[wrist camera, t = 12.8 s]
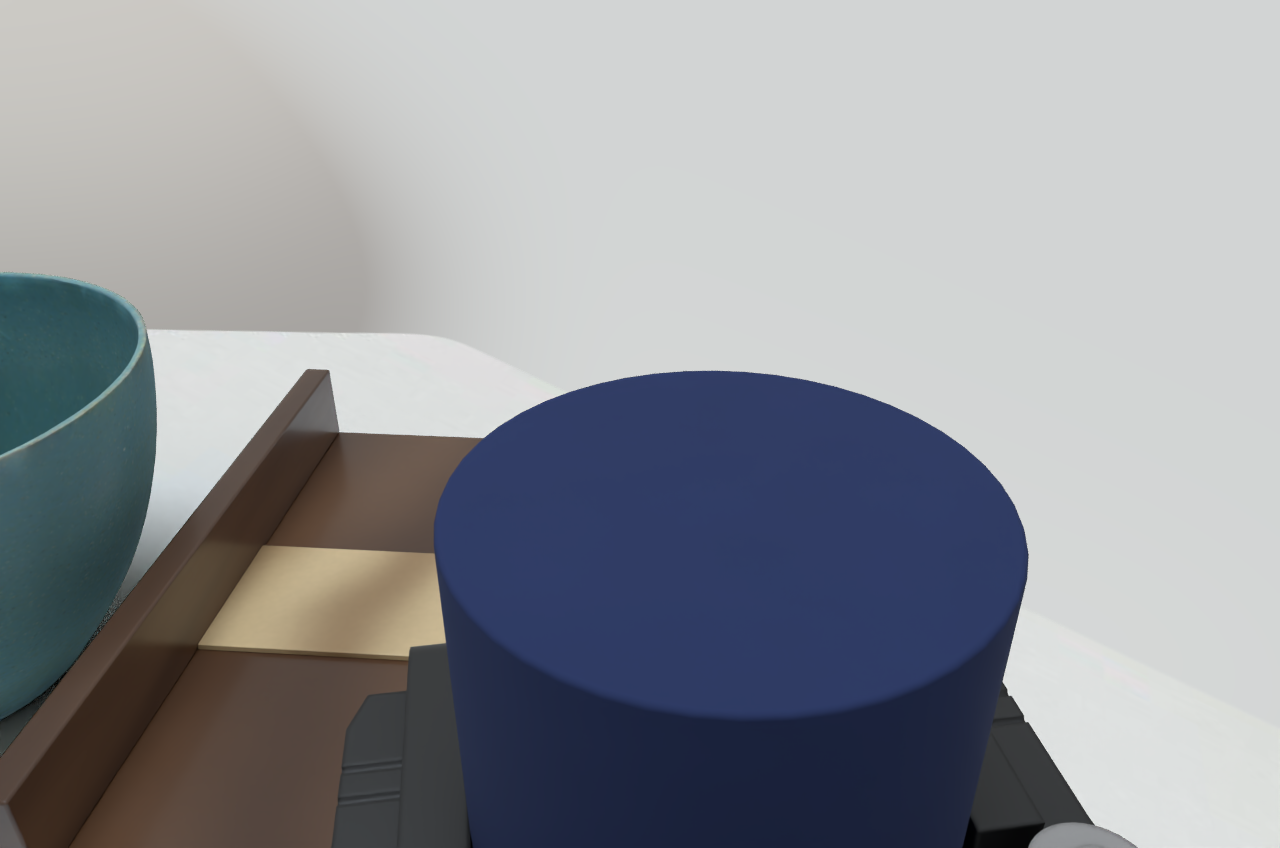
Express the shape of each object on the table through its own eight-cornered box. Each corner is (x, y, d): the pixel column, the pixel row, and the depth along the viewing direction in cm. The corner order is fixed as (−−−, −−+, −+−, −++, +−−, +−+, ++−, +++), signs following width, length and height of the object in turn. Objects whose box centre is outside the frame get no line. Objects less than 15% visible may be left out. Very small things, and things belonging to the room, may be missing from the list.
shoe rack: (641, 539, 45) (642, 380, 41) (581, 1045, 26) (572, 840, 22) (334, 525, 46) (306, 368, 42) (60, 1005, 27) (-37, 801, 23)
